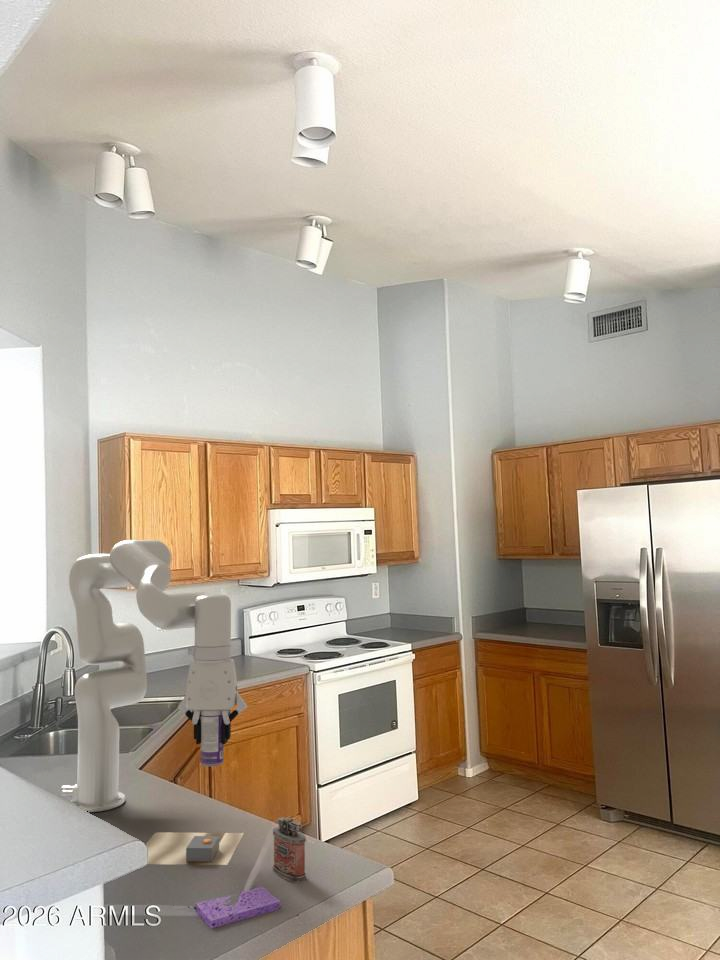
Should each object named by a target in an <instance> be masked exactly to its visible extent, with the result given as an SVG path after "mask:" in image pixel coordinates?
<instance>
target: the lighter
mask: <svg viewBox="0 0 720 960" xmlns="http://www.w3.org/2000/svg"><path fill="white" fill-rule="evenodd" d="M277 823H278V827H274V828H273V829H272V835H273V866H272V872H273V873H274V874H276V875H277V876H278V877H281V878H282V879H285V880H288V881H291V882H293V883H302V882H304V881H306V879H307V873H306V870H305V869H306V865H305V864H306V863H305V862H306V859H305V858H306V857H305V855H306V851H305V850H306V848H305V847H306V844H305V843H306V842H307V841H306V838H307V837H306V835H305V834H303V833H301V832H302V831H303V824H302V823H300V822H298V821H294V818H292V817H287V818H286V817H278V820H277Z"/></svg>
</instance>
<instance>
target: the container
mask: <svg viewBox="0 0 720 960" xmlns="http://www.w3.org/2000/svg"><path fill="white" fill-rule="evenodd" d="M223 721H224V720H223V716H222V712H221V711H201V743H200V765H201V766H203V767H217V766H221V765H223V764H224V759H225V758H224V752H225V751H224V746H225V744H222V743H221V734H222V724H223Z"/></svg>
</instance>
